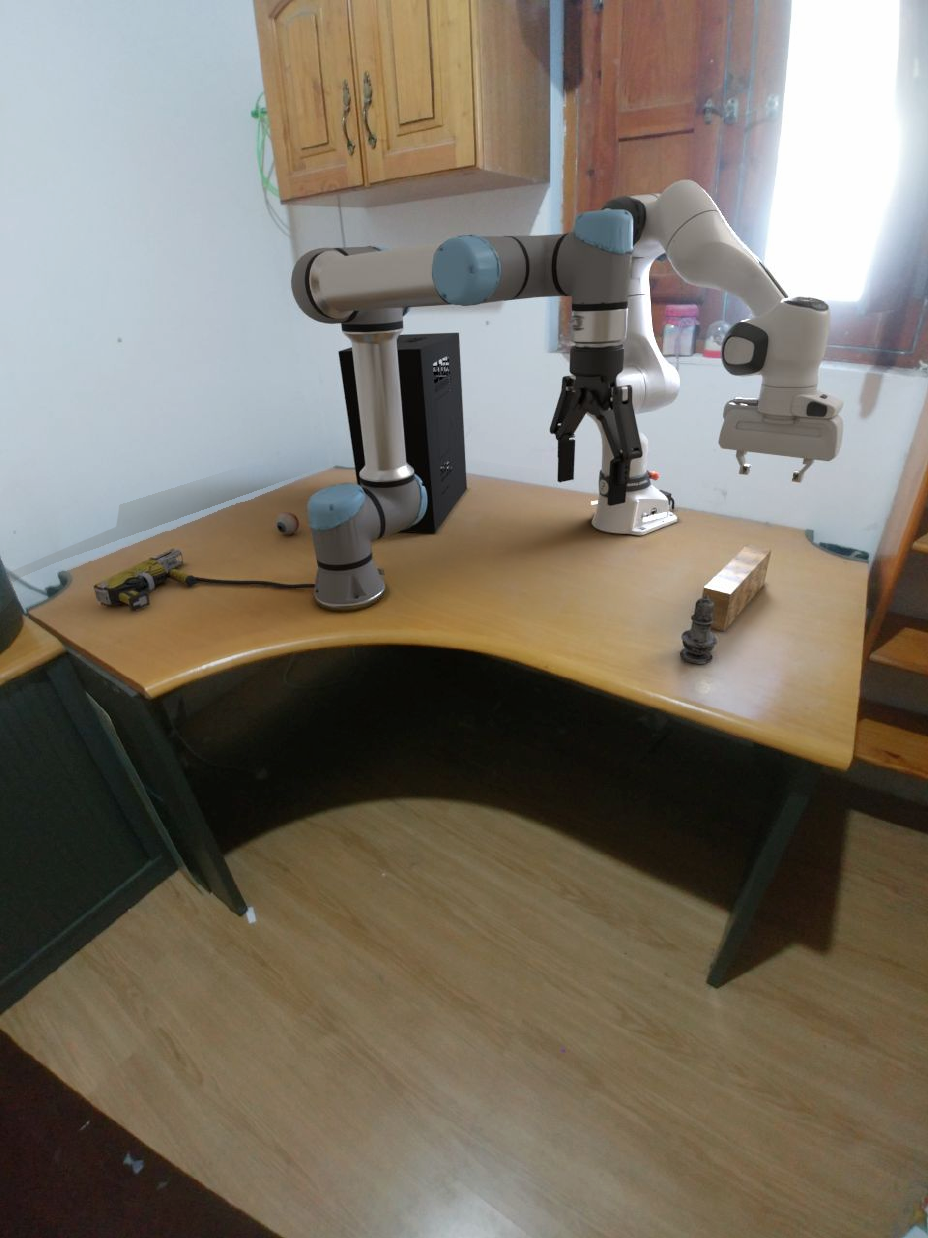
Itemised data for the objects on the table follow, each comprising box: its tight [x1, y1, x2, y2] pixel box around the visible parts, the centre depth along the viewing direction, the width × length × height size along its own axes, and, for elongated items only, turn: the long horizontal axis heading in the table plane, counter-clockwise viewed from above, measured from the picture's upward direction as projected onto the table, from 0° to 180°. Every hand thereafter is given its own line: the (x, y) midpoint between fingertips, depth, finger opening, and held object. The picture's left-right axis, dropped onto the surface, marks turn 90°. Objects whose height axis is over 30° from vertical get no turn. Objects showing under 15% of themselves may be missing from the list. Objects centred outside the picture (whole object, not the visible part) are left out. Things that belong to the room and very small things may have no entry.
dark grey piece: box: [679, 594, 718, 665], centre depth 102 cm, size 6×6×12 cm
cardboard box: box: [338, 332, 468, 534], centre depth 167 cm, size 38×20×45 cm, turn 167°
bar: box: [701, 544, 772, 632], centre depth 118 cm, size 23×5×8 cm, turn 140°
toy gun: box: [93, 548, 197, 612], centre depth 139 cm, size 5×24×15 cm
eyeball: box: [275, 511, 300, 536], centre depth 163 cm, size 6×6×6 cm
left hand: (589, 491), depth 95 cm, fingers open, 13 cm apart
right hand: (769, 477), depth 114 cm, fingers open, 8 cm apart
